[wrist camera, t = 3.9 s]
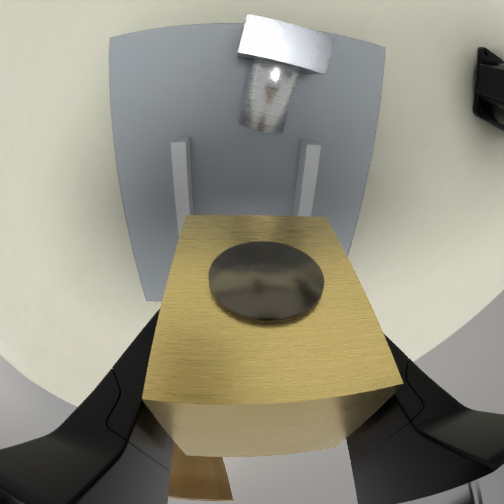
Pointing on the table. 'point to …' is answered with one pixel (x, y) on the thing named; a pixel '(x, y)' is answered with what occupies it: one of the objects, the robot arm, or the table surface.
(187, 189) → the grey base plate
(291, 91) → the shaft
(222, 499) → the plant pot
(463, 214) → the table surface
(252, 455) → the block
